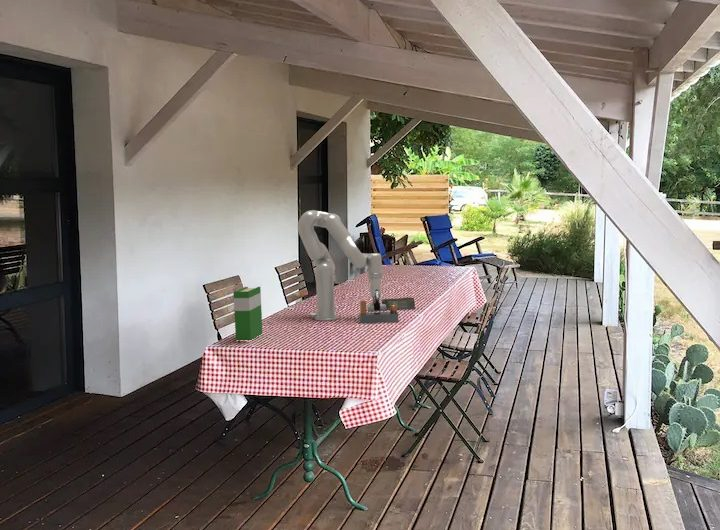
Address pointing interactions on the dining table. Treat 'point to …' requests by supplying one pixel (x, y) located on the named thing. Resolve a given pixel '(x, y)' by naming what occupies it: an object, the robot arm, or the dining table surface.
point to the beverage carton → (400, 303)
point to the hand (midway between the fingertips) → (376, 309)
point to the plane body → (377, 315)
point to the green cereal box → (247, 313)
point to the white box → (371, 307)
